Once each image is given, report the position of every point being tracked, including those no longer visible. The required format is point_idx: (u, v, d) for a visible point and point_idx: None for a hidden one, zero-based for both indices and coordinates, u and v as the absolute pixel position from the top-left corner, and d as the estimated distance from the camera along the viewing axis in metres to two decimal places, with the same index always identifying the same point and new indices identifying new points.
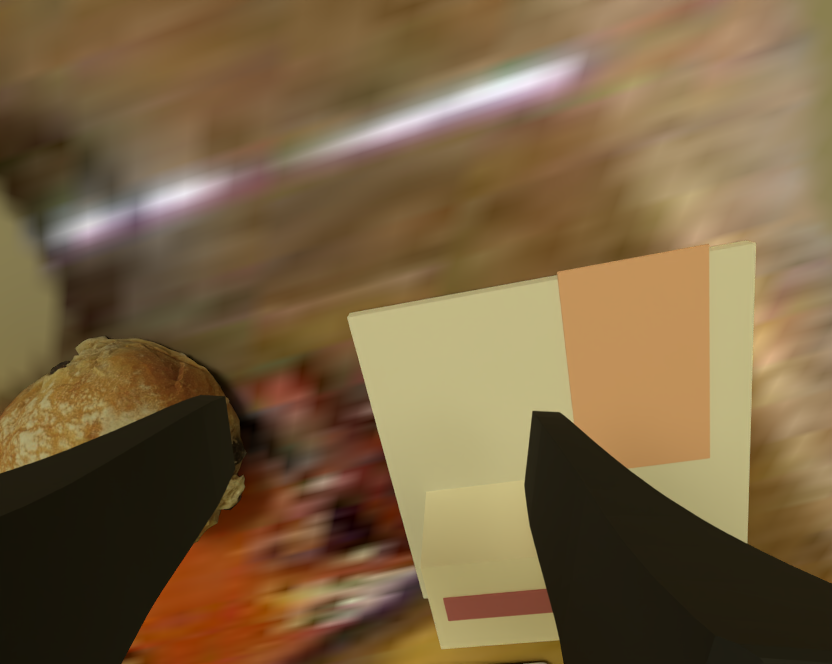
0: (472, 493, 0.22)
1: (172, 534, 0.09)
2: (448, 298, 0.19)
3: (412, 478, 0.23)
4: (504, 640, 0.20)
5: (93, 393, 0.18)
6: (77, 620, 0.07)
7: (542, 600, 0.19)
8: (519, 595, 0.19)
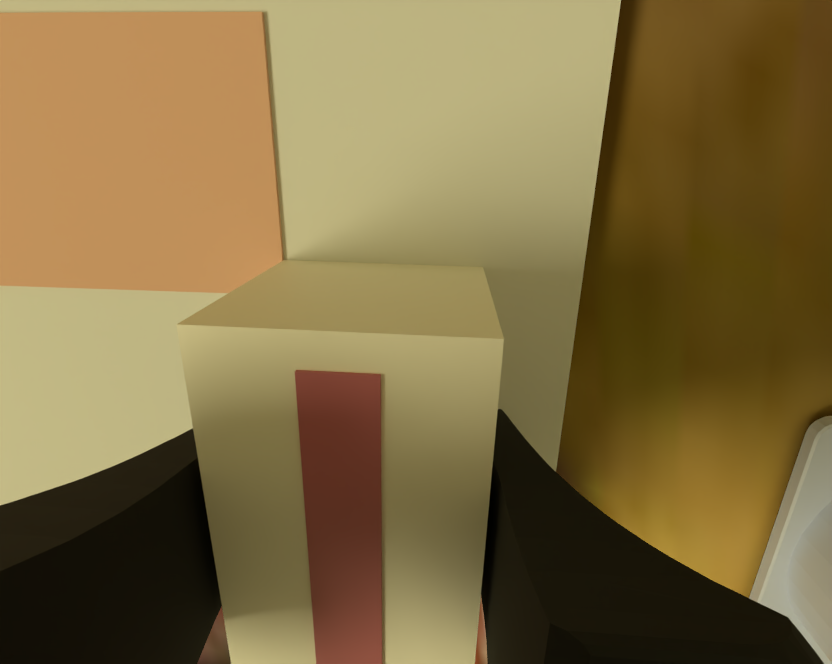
0: None
1: None
2: None
3: None
4: (466, 626, 0.08)
5: None
6: (160, 626, 0.07)
7: (337, 540, 0.08)
8: (320, 579, 0.08)
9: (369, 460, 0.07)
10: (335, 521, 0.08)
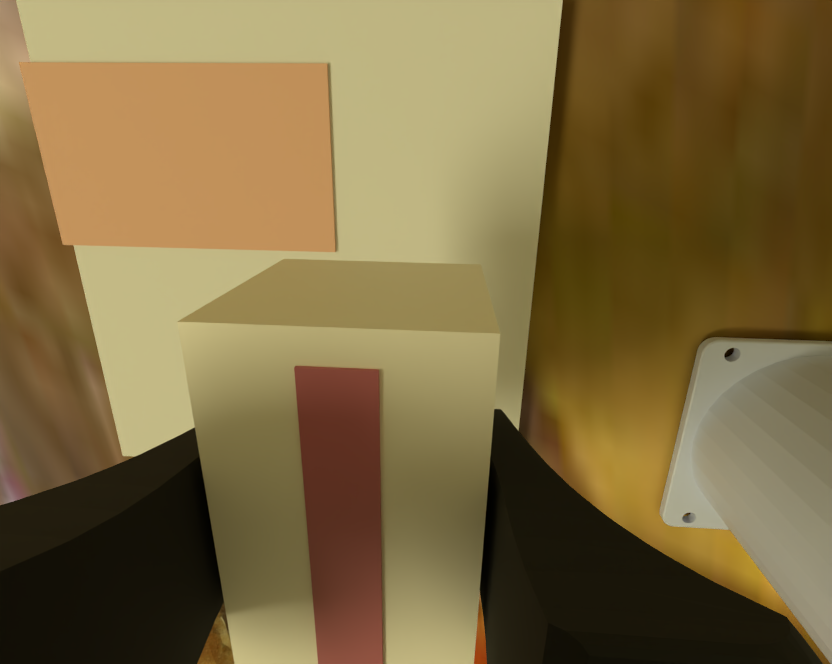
0: None
1: None
2: (102, 358, 0.18)
3: None
4: (466, 620, 0.08)
5: None
6: (161, 626, 0.07)
7: (337, 534, 0.08)
8: (321, 573, 0.08)
9: (368, 454, 0.07)
10: (335, 516, 0.08)
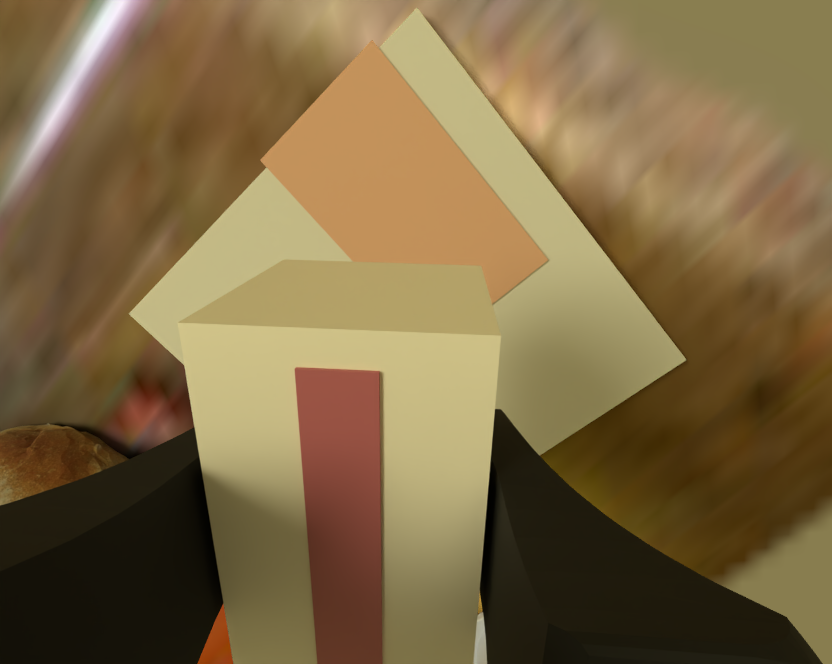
0: None
1: None
2: None
3: None
4: (466, 622, 0.08)
5: None
6: (160, 627, 0.07)
7: (337, 535, 0.08)
8: (320, 575, 0.08)
9: (368, 456, 0.07)
10: (335, 517, 0.08)
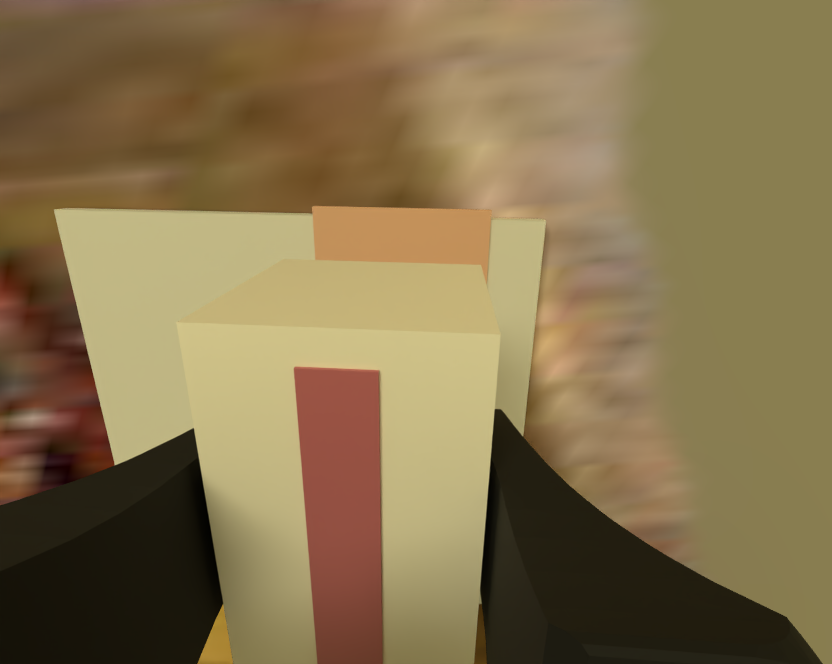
0: None
1: None
2: (182, 212, 0.15)
3: (132, 432, 0.18)
4: (466, 622, 0.08)
5: None
6: (161, 627, 0.07)
7: (337, 536, 0.08)
8: (321, 574, 0.08)
9: (367, 455, 0.07)
10: (335, 517, 0.08)
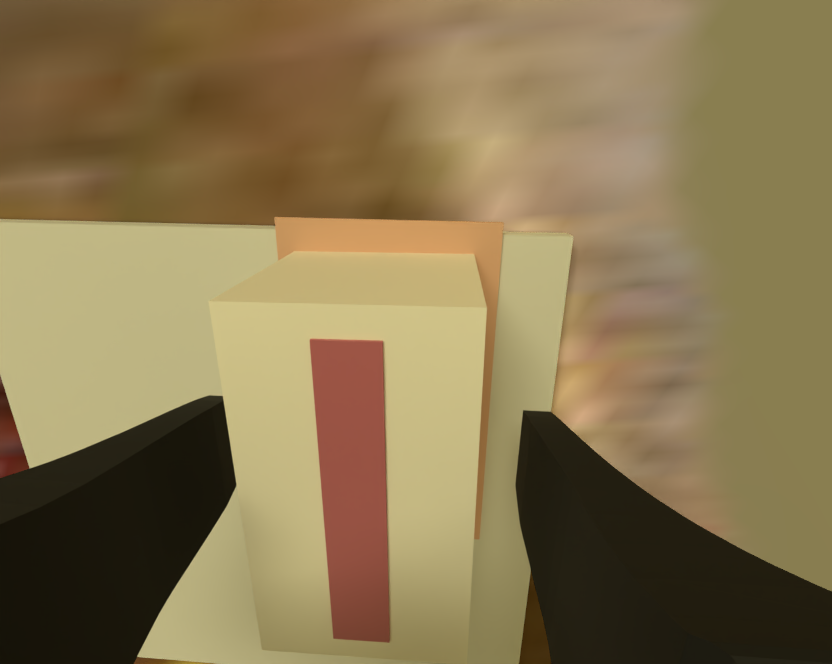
0: None
1: (182, 534, 0.09)
2: (112, 224, 0.12)
3: None
4: (462, 567, 0.09)
5: None
6: (90, 621, 0.07)
7: (348, 490, 0.09)
8: (333, 525, 0.09)
9: (374, 416, 0.08)
10: (346, 473, 0.09)
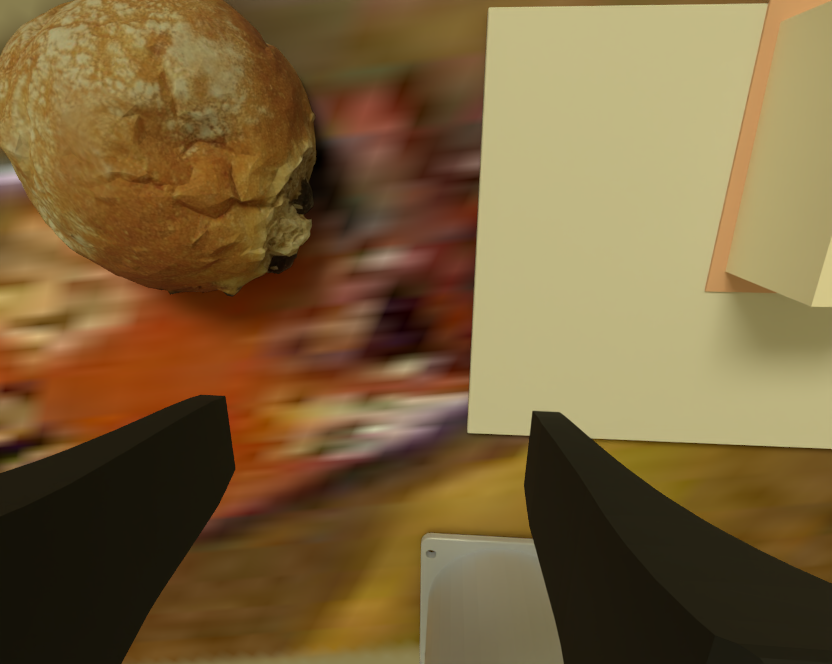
0: (747, 211, 0.16)
1: (172, 534, 0.09)
2: (623, 6, 0.15)
3: (502, 262, 0.18)
4: None
5: (165, 3, 0.13)
6: (77, 620, 0.07)
7: None
8: None
9: None
10: None
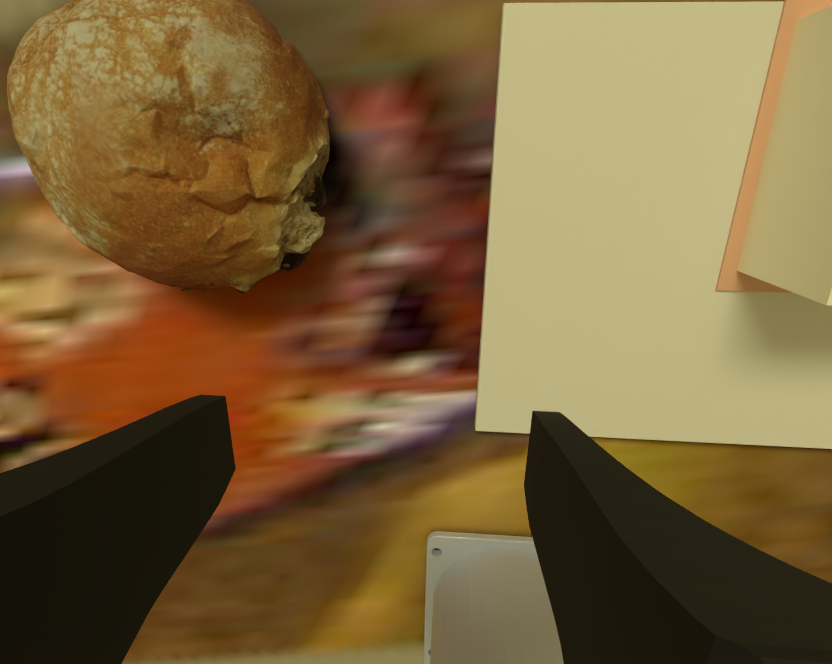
0: (760, 210, 0.16)
1: (172, 534, 0.09)
2: (639, 3, 0.15)
3: (513, 260, 0.18)
4: None
5: None
6: (77, 620, 0.07)
7: None
8: None
9: None
10: None
